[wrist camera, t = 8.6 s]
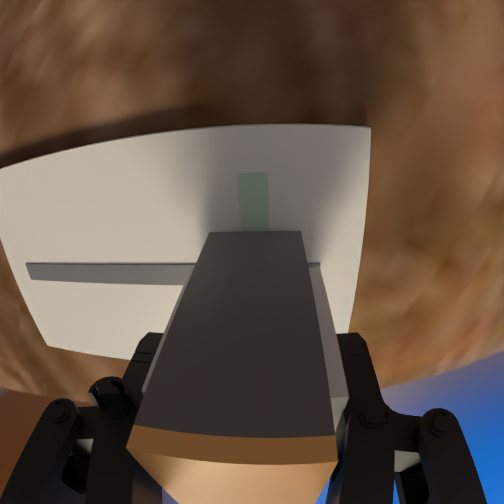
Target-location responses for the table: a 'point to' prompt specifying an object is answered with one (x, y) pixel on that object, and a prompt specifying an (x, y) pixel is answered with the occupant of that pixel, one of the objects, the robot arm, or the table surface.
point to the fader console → (174, 221)
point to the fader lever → (241, 381)
